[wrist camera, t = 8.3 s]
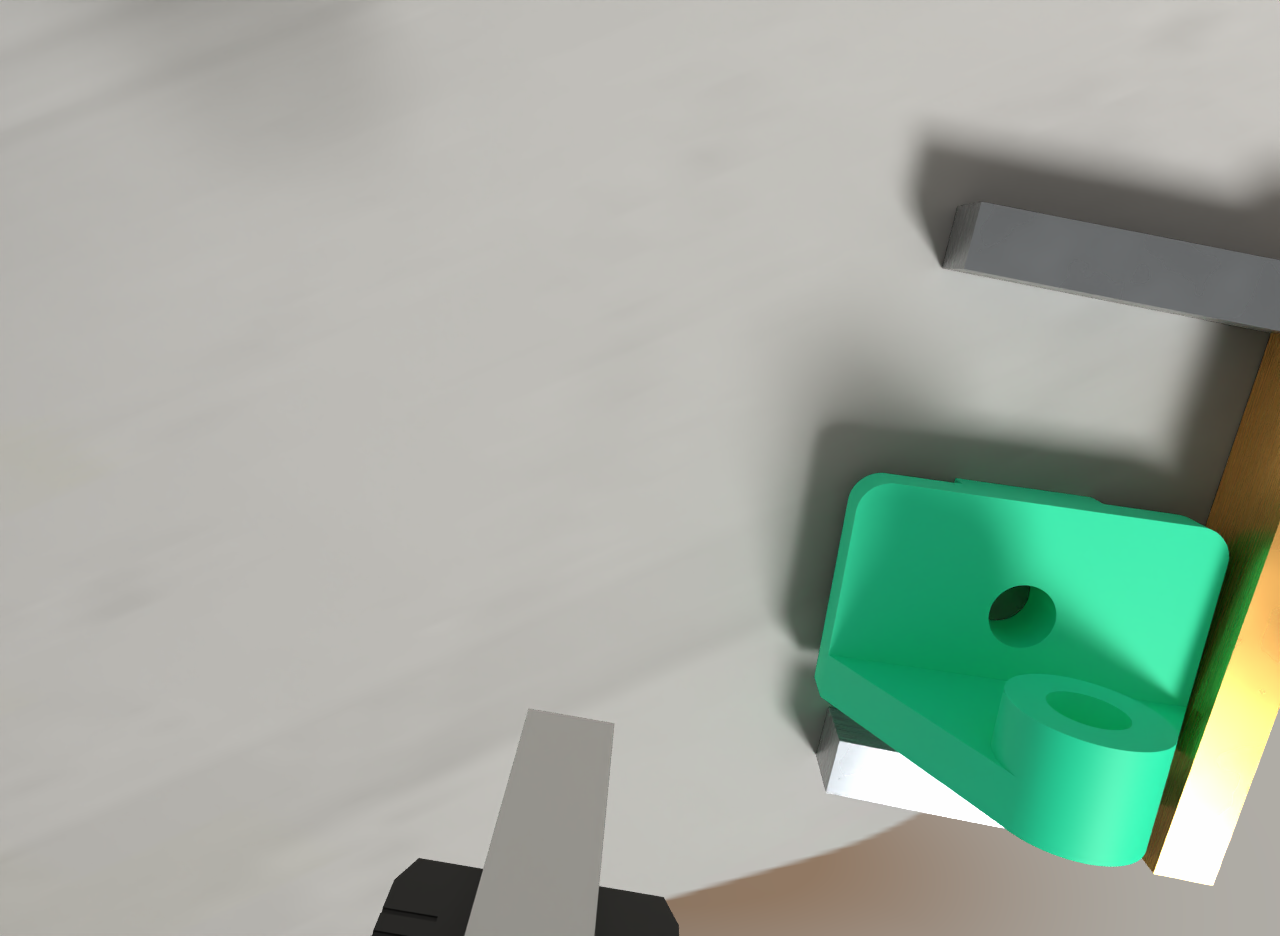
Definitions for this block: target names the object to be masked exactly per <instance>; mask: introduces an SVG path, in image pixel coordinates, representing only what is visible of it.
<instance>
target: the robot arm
mask: <svg viewBox="0 0 1280 936" xmlns="http://www.w3.org/2000/svg"><path fill="white" fill-rule="evenodd" d="M613 732H614V723H609V722H603V721H597V720H592V719H586V718H580V717H574V716H569V715H563V714H557V713H551V712H546V711H540V710H534V709H528V713H527V716H526V720H525V723H524V727H523V730H522V734H521V737H520V741H519V744H518V748H517V752H516V755H515V759H514V762H513V766H512V769H511V773H510V776H509V780H508V783H507V787H506V790H505V794H504V797H503V801H502V805H501V808H500V812H499V815H498V819H497V822H496V826H495V829H494V833H493V836H492V840H491V843H490V847H489V851H488V854H487V858H486V861H485V865H484V868H483V869H480V868H474V867H468V866H462V865H456V864H451V863H445V862H439V861H433V860H427V859H421V858H419V859H417V860H416V861H415V862H414V863H413V864H412V865H411V866H409V867H408V868H407V869H406V870H405V871H404V872H403V873H402V874H400V875H399V876H398V877H397V878H396V879H395V880H394V882H393V885H392V887H391V889H390V892H389V894H388V897H387V899H386V901H385V904H384V906H383V910H382V913H380V916H379V918H378V920H377V923H376V925H375V928H374V930H373V934H372V936H679V925H678V923H677V921H676V919H675V918H674V916H673V914H672V912H671V910H670V908H669V906H668V905H667V903H666V901H665V899H664V897H659V896H653V895H648V894H642V893H636V892H630V891H624V890H618V889H612V888H606V887H601V886H599V881H600V870H601V860H602V849H603V839H604V828H605V817H606V807H607V796H608V785H609V775H610V764H611V754H612V743H613Z"/></svg>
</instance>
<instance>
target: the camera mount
mask: <svg viewBox="0 0 1280 936" xmlns="http://www.w3.org/2000/svg"><path fill="white" fill-rule="evenodd" d="M1228 562H1229V550H1228V547H1227V544H1226V542H1225V541H1224V539H1223V538H1222V537H1221V536H1220V535H1219V534H1218V533H1217V532H1215V531H1213V530H1211V529H1209V528H1207V527H1205V526H1203V525H1202V524H1200V523H1198V522H1196V521H1194V520H1192V519H1190V518H1188V517H1185V516H1182V515H1177V514H1170V513H1163V512H1156V511H1149V510H1142V509H1135V508H1128V507H1121V506H1114V505H1107V504H1102V503H1100V502H1099V501H1097V500H1095V499H1094V498H1092V497H1086V496H1079V495H1072V494H1065V493H1058V492H1051V491H1044V490H1037V489H1030V488H1023V487H1016V486H1009V485H1002V484H994V483H987V482H980V481H973V480H966V479H959V478H955V482H954V483H952V482H945V481H938V480H931V479H923V478H916V477H909V476H902V475H895V474H888V473H875V474H871V475H868V476H866V477H864V478H863V479H861V480H860V481H859V482H858V483H857V484H856V485H855V486H854V487H853V489H852V490H851V492H850V495H849V498H848V502H847V508H846V513H845V518H844V524H843V529H842V534H841V539H840V545H839V550H838V555H837V560H836V566H835V571H834V576H833V581H832V587H831V592H830V597H829V602H828V608H827V613H826V618H825V623H824V629H823V634H822V639H821V644H820V650H819V655H818V660H817V665H816V671H815V676H814V678H815V681H816V684H817V688H818V691H819V694H820V697H822V698H823V699H824V700H826V701H827V702H829V703H830V704H831V705H833V706H834V707H836V708H837V709H838V710H840V711H841V712H843V713H844V714H845V715H847V716H848V717H850V718H851V719H852V720H854V721H855V722H857V723H858V724H859V725H861V726H862V727H864V728H865V729H866V730H868V731H869V732H871V733H872V734H873V735H875V736H876V737H878V738H879V739H880V740H882V741H883V742H885V743H886V744H887V745H889V746H890V747H892V748H893V749H894V750H896V751H897V752H899V753H900V754H901V755H903V756H904V757H906V758H907V759H908V760H910V761H911V762H913V763H914V764H915V765H917V766H918V767H920V768H921V769H922V770H924V771H925V772H927V773H928V774H929V775H931V776H932V777H934V778H935V779H936V780H938V781H939V782H941V783H942V784H943V785H945V786H946V787H948V788H949V789H950V790H952V791H953V792H955V793H956V794H957V795H959V796H960V797H962V798H963V799H964V800H966V801H967V802H969V803H970V804H971V805H973V806H974V807H976V808H977V809H978V810H980V811H981V812H983V813H984V814H985V815H987V816H988V817H990V818H991V819H992V820H994V821H995V822H997V823H998V824H999V825H1001V826H1002V827H1004V828H1005V829H1007V830H1008V831H1009V832H1011V833H1012V834H1014V835H1016V836H1017V837H1019V838H1020V839H1022V840H1024V841H1025V842H1027V843H1029V844H1031V845H1033V846H1035V847H1037V848H1039V849H1042V850H1044V851H1046V852H1049V853H1051V854H1054V855H1057V856H1059V857H1062V858H1065V859H1069V860H1073V861H1076V862H1080V863H1085V864H1090V865H1097V866H1110V867H1111V866H1124V865H1129V864H1132V863H1135V862H1137V861H1139V860H1140V859H1141V858H1142V857H1143V856H1144V855H1145V853H1146V850H1147V846H1148V843H1149V839H1150V836H1151V832H1152V829H1153V825H1154V822H1155V818H1156V815H1157V811H1158V808H1159V804H1160V801H1161V797H1162V794H1163V790H1164V787H1165V783H1166V780H1167V777H1168V773H1169V770H1170V766H1171V763H1172V759H1173V756H1174V752H1175V749H1176V745H1177V741H1178V737H1179V733H1180V730H1181V726H1182V723H1183V719H1184V716H1185V712H1186V708H1187V705H1188V701H1189V698H1190V694H1191V691H1192V688H1193V684H1194V681H1195V677H1196V674H1197V670H1198V667H1199V663H1200V660H1201V656H1202V653H1203V649H1204V646H1205V642H1206V639H1207V635H1208V632H1209V628H1210V625H1211V621H1212V618H1213V614H1214V611H1215V607H1216V604H1217V600H1218V597H1219V594H1220V590H1221V587H1222V583H1223V580H1224V576H1225V573H1226V569H1227V566H1228ZM1021 585H1028V586H1030V593H1029V598H1028V600H1027V602H1026V604H1025V606H1024V607H1023V608H1022V610H1021V611H1019V612H1018V613H1017V614H1016V615H1014V616H1012V617H1010V618H1008V619H1004V620H989V611H990V608H991V606H992V604H993V602H994V601H995V599H996V598H997V597H998V596H999V595H1000V594H1001V593H1003V592H1004V591H1006V590H1008V589H1010V588H1012V587H1016V586H1021Z"/></svg>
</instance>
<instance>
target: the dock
mask: <svg viewBox="0 0 1280 936" xmlns="http://www.w3.org/2000/svg"><path fill="white" fill-rule="evenodd" d="M942 268H943V269H948V270H953V271H958V272H963V273H969V274H974V275H979V276H984V277H989V278H994V279H999V280H1004V281H1009V282H1014V283H1019V284H1025V285H1030V286H1035V287H1040V288H1045V289H1050V290H1055V291H1060V292H1065V293H1070V294H1075V295H1081V296H1086V297H1091V298H1096V299H1101V300H1106V301H1111V302H1116V303H1121V304H1126V305H1131V306H1136V307H1142V308H1147V309H1152V310H1157V311H1162V312H1167V313H1172V314H1177V315H1182V316H1187V317H1192V318H1198V319H1203V320H1208V321H1213V322H1218V323H1223V324H1228V325H1233V326H1238V327H1243V328H1248V329H1254V330H1259V331H1264V332H1269V333H1271V335H1270V338H1269V341H1268V344H1267V347H1266V350H1265V353H1264V356H1263V359H1262V361H1261V364H1260V367H1259V370H1258V373H1257V376H1256V379H1255V382H1254V385H1253V388H1252V391H1251V394H1250V397H1249V400H1248V403H1247V406H1246V409H1245V411H1244V414H1243V417H1242V420H1241V423H1240V426H1239V429H1238V432H1237V435H1236V438H1235V441H1234V444H1233V447H1232V450H1231V453H1230V456H1229V459H1228V461H1227V464H1226V467H1225V470H1224V473H1223V476H1222V479H1221V482H1220V485H1219V488H1218V491H1217V494H1216V497H1215V500H1214V503H1213V506H1212V509H1211V511H1210V514H1209V517H1208V520H1207V523H1206V526H1205V527H1207V528H1209V529H1211V530H1213V531H1215V532H1217V533H1218V534H1219V535H1220V536H1221V537H1222V538H1223V539H1224V541H1225V542H1226V544H1227V547H1228V550H1229V562H1228V566H1227V569H1226V573H1225V576H1224V580H1223V583H1222V587H1221V590H1220V594H1219V597H1218V600H1217V604H1216V607H1215V611H1214V614H1213V618H1212V621H1211V625H1210V628H1209V632H1208V635H1207V639H1206V642H1205V646H1204V649H1203V653H1202V656H1201V660H1200V663H1199V667H1198V670H1197V674H1196V677H1195V681H1194V684H1193V688H1192V691H1191V694H1190V698H1189V701H1188V705H1187V708H1186V712H1185V716H1184V719H1183V723H1182V726H1181V730H1180V733H1179V737H1178V741H1177V745H1176V749H1175V752H1174V756H1173V759H1172V763H1171V766H1170V770H1169V773H1168V777H1167V780H1166V783H1165V787H1164V790H1163V794H1162V797H1161V801H1160V804H1159V808H1158V811H1157V815H1156V818H1155V822H1154V825H1153V829H1152V832H1151V836H1150V839H1149V843H1148V846H1147V850H1146V853H1145V855H1144V856H1143V857H1142V859H1143V860H1144V861H1145V863H1146V864H1147V866H1148V867H1149V868H1150V869H1151V871H1152V872H1153V873H1154V874H1158V875H1163V876H1168V877H1173V878H1178V879H1183V880H1188V881H1193V882H1198V883H1203V884H1208V885H1213V883H1214V880H1215V878H1216V875H1217V872H1218V869H1219V867H1220V864H1221V862H1222V859H1223V856H1224V854H1225V851H1226V848H1227V846H1228V843H1229V840H1230V838H1231V835H1232V832H1233V830H1234V827H1235V824H1236V822H1237V819H1238V816H1239V814H1240V811H1241V808H1242V806H1243V803H1244V800H1245V798H1246V795H1247V792H1248V790H1249V787H1250V784H1251V782H1252V779H1253V776H1254V774H1255V771H1256V768H1257V765H1258V763H1259V760H1260V758H1261V755H1262V752H1263V750H1264V746H1265V744H1266V742H1267V739H1268V736H1269V733H1270V731H1271V728H1272V726H1273V723H1274V720H1275V718H1276V715H1277V712H1278V709H1279V707H1280V260H1277V259H1272V258H1266V257H1261V256H1256V255H1251V254H1246V253H1241V252H1236V251H1231V250H1226V249H1221V248H1215V247H1210V246H1205V245H1200V244H1195V243H1190V242H1185V241H1180V240H1175V239H1170V238H1165V237H1159V236H1154V235H1149V234H1144V233H1139V232H1134V231H1129V230H1124V229H1119V228H1114V227H1108V226H1103V225H1098V224H1093V223H1088V222H1083V221H1078V220H1073V219H1068V218H1063V217H1058V216H1052V215H1047V214H1042V213H1037V212H1032V211H1027V210H1022V209H1017V208H1012V207H1007V206H1001V205H996V204H991V203H986V202H977V203H972V204H967V205H962V206H958V208H957V212H956V216H955V219H954V223H953V227H952V231H951V235H950V239H949V243H948V247H947V250H946V254H945V258H944V262H943V266H942ZM816 757H817V761H818V764H819V768H820V772H821V776H822V780H823V783H824V787H825V791H826V793H829V794H834V795H839V796H844V797H850V798H855V799H860V800H865V801H870V802H875V803H880V804H885V805H890V806H895V807H900V808H905V809H910V810H915V811H920V812H925V813H930V814H935V815H940V816H945V817H950V818H955V819H961V820H965V821H970V822H975V823H980V824H985V825H990V826H996V827H1000V828H1004V827H1002V826H1001V825H999V824H998V823H997V822H995V821H994V820H992V819H991V818H990V817H988V816H987V815H985V814H984V813H983V812H981V811H980V810H978V809H977V808H976V807H974V806H973V805H971V804H970V803H969V802H967V801H966V800H964V799H963V798H962V797H960V796H959V795H957V794H956V793H955V792H953V791H952V790H950V789H949V788H948V787H946V786H945V785H943V784H942V783H941V782H939V781H938V780H936V779H935V778H934V777H932V776H931V775H929V774H928V773H927V772H925V771H924V770H922V769H921V768H920V767H918V766H917V765H915V764H914V763H913V762H911V761H910V760H908V759H907V758H906V757H904V756H903V755H901V754H900V753H899V752H897V751H896V750H894V749H893V748H892V747H890V746H889V745H887V744H886V743H885V742H883V741H882V740H880V739H879V738H878V737H876V736H875V735H873V734H872V733H871V732H869V731H868V730H866V729H865V728H864V727H862V726H861V725H859V724H858V723H857V722H855V721H854V720H852V719H851V718H850V717H848V716H847V715H845V714H844V713H843V712H841V711H840V710H838V709H836V708H831V707H829V708H828V712H827V716H826V719H825V723H824V727H823V731H822V735H821V739H820V743H819V747H818V750H817V754H816Z"/></svg>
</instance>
